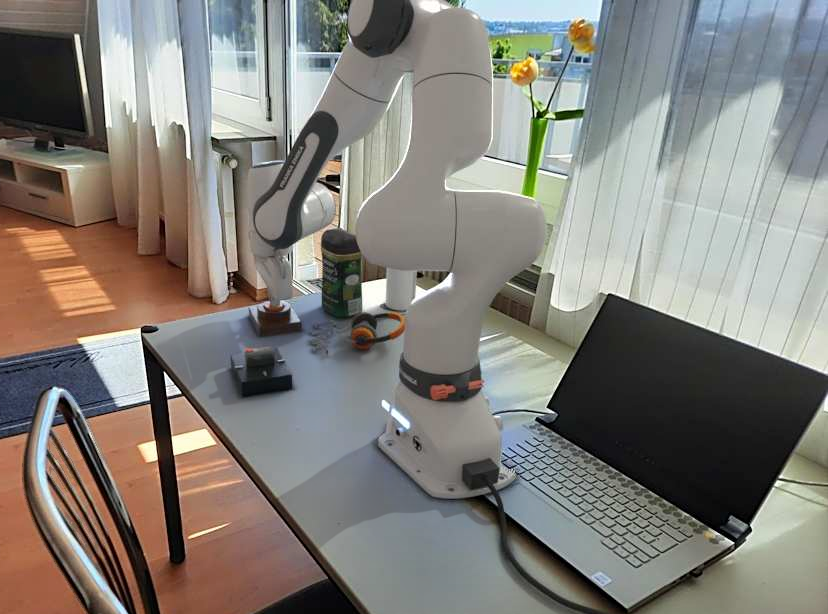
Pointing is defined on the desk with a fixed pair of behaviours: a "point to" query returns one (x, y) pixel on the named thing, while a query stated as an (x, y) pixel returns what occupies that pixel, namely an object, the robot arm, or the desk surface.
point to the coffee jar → (341, 273)
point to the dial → (259, 356)
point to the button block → (274, 320)
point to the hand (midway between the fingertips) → (274, 304)
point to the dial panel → (261, 375)
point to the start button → (270, 308)
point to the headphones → (364, 330)
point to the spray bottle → (400, 288)
